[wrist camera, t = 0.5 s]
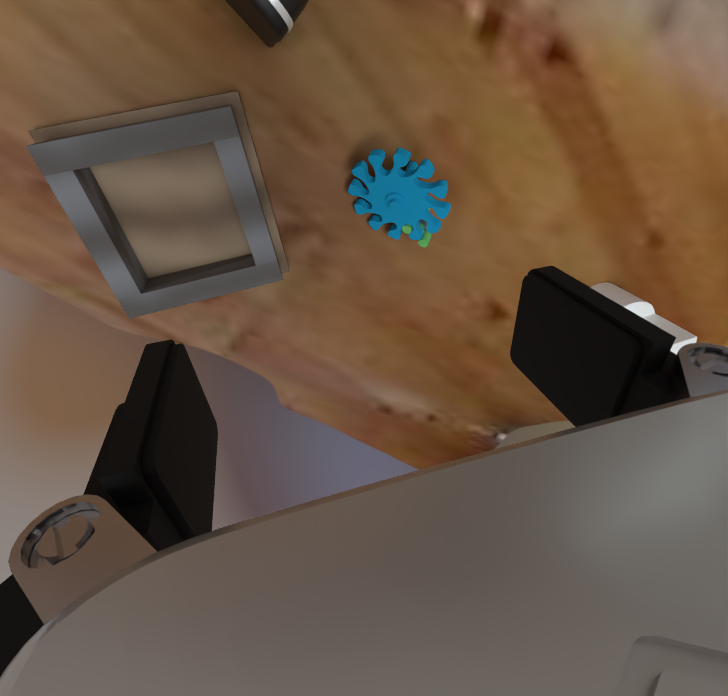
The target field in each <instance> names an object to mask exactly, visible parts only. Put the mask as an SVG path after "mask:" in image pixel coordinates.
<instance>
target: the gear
mask: <svg viewBox="0 0 728 696" xmlns="http://www.w3.org/2000/svg"><path fill="white" fill-rule="evenodd" d="M385 157H386V154H385V152H384V150H380V149H376V150H372V151H371V153H370V155H369V157H368V159H369V162H370V163H371V165H372V166H373V168H374V170H375V177H372V176H370V175H369V173H368V165H367V163H366V162H365V161H363V160H362V161H359V162H358V163H357V164H356V165H355V166H354V168H353V169H352V173H353V175H354V176H356V177H357V178H359V179H361V180H362V181H363V182H364V183H365V185H366V186H367V188H368V189H369V190H367V189H365V188H364V187H363V186H362V184H361V182H360V181H359V180H357V179H353V180H352V182H351V184H350V186H349V189H348V193H349V194H351V195H353V196H359V197H362V198H364V199H366V200H367V201H368V202H370V203H371V204H369V203H367V202H366V201H365V200H363V199H357V201H356V203H355V206H354V207H355V210H356V213H357V214H360V215H362V214H364V213H375V214H378V215H380V216H377V215H373V216H371V218H370V220H369V222H368V223H369V225H370V226H371V227H372V228H373V229H374V230H379V228H380V227H381V225H383V224H385V223H389V222H392V223H395V224H396V225H392V226H391V228H390V230H389V232H388V235H389V236H390V237H392V238H394V239H399V238H400V236H401V233H402V231H403V232H404V233H407V234H409V233H410V234H409V238H410V239H413V240H419V242H418V243H419V245H420V246H421V247H427V246H428V244H429V241H430V239H431V236H432V235H431V233H435V232H437V231H439V230H440V227H441V225H442V223H441V221H440V220H439V219H437V218H435V217H434V216H433V215H432V214H431V213H430V211H429V210H430V208H432V209H434V211H435V212H436V215H437V216H438V217H439V218H441V219H444V218H445V217H446V216H447V215H448V213H449V210H450V207H451V204H450V203H448V202H442V201H438V200H436V199H434V198H432V197H431V196H430V195H429V194H428V193H432V194H434V195H435V196H436V197H438V198H445V196H446V194H447V191H448V184H447V181H446V180H439V181H437V182H433V183H427V182H423V181H420V180H418V179H417V177H420V178H424V179H428V178H430V177H431V176H432V175H433V172H434V170H435V168H434V166H433V164H432V163H431V162H430V161H429V160H428V159H424V160H423V161H422V162H421V164H420V165H419V166H418V164H417V163H416V162H414V161H411V162H409V164H408V166H407V168H406V170H405V171H403V170H401V168H400V167H403V166H406V165H407V163H408V161H409V159H410V157H411V153H410V152H409V151H407V150H405V149H403V148H400V147H399V148H398V149H397V151H396V153H395V155H394V157H393V160H394V166H393V168H392V169H391V170H385V169H384V168H383V167H382V163H383V161H384V159H385ZM426 229H427V231H426Z"/></svg>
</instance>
